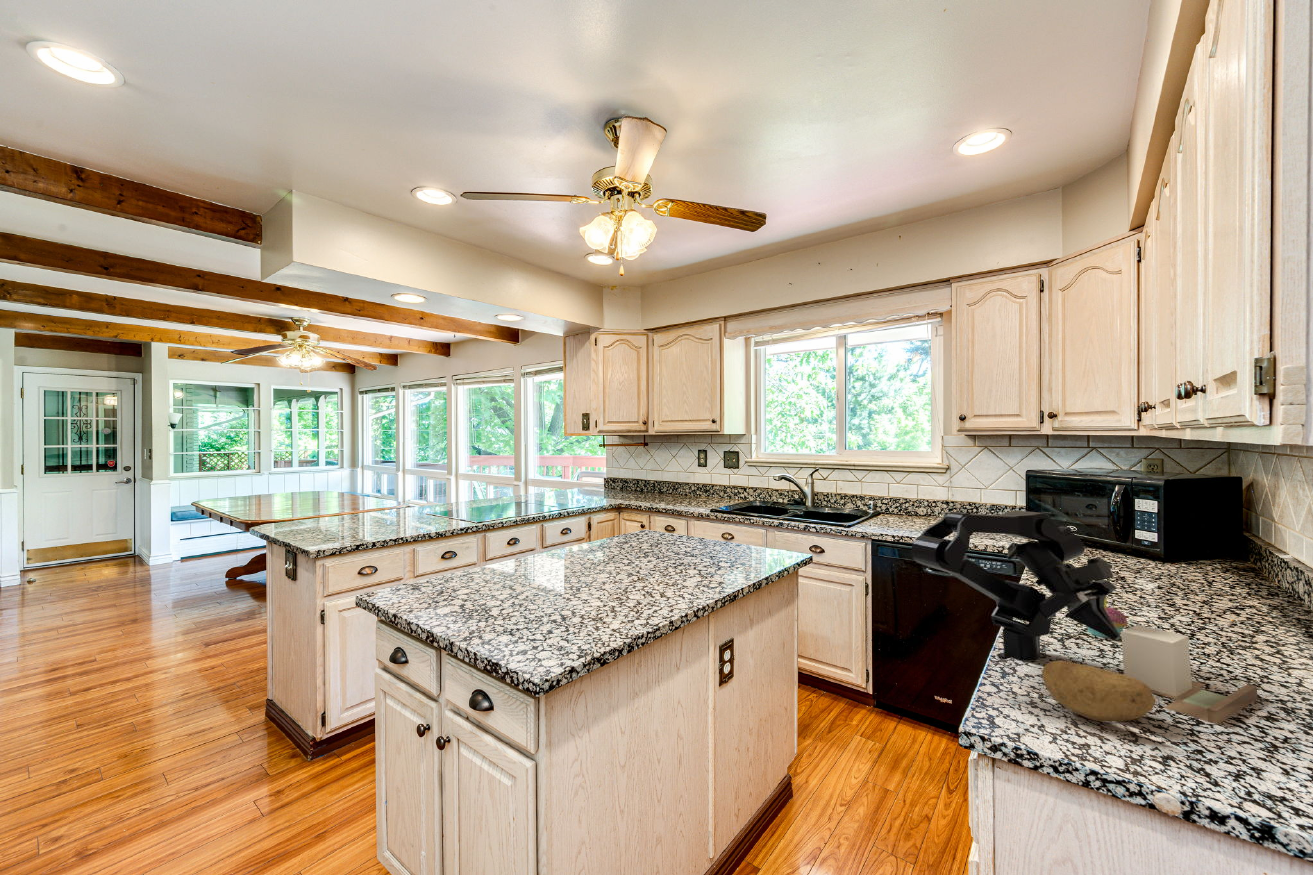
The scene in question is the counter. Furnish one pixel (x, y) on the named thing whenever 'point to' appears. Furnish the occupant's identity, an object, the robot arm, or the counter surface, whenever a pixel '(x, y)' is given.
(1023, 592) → the robot arm
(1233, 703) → the lane board
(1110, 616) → the cupcake
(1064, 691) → the potato
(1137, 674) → the block
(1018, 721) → the counter surface
